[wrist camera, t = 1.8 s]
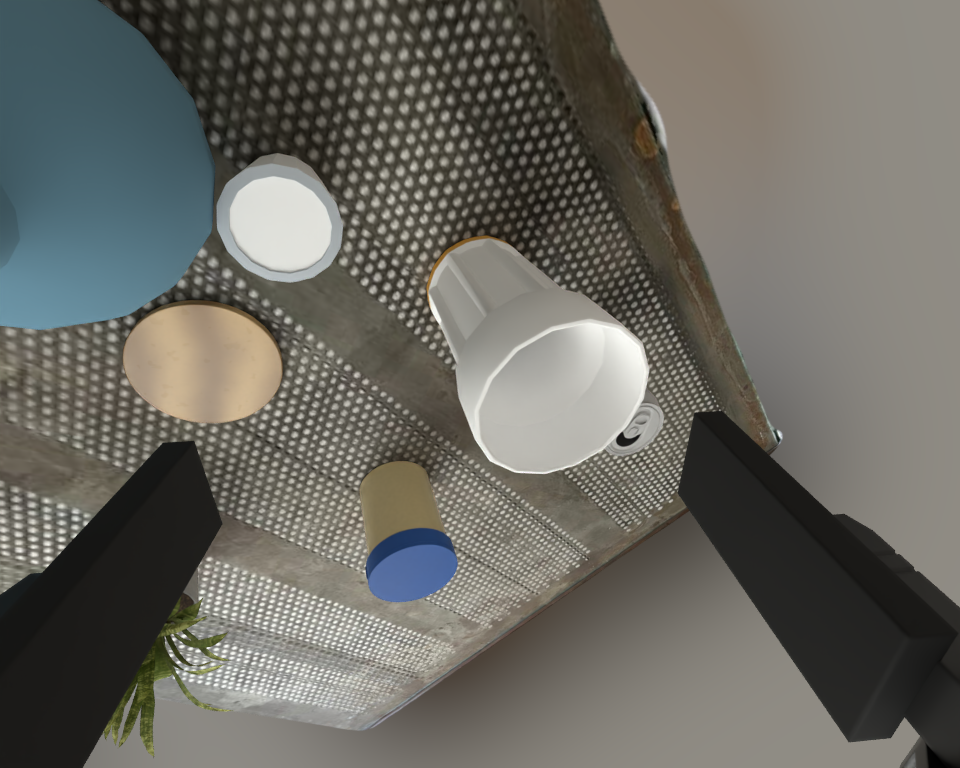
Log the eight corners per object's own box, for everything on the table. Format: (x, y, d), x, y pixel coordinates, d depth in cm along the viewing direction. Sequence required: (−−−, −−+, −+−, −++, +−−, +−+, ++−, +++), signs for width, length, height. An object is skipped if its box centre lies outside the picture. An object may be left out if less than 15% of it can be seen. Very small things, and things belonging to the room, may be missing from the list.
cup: (391, 319, 41) (437, 456, 27) (453, 196, 37) (545, 285, 23) (497, 359, 47) (579, 488, 33) (561, 256, 42) (685, 355, 29)
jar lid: (366, 592, 46) (368, 610, 45) (363, 536, 42) (366, 554, 40) (449, 574, 49) (454, 591, 47) (455, 520, 44) (461, 537, 43)
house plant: (266, 583, 55) (257, 746, 42) (128, 616, 51) (72, 806, 38) (233, 497, 46) (209, 668, 34) (65, 530, 43) (-33, 735, 30)
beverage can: (532, 377, 49) (586, 456, 40) (561, 324, 47) (626, 394, 37) (580, 388, 52) (641, 463, 43) (610, 338, 49) (682, 407, 40)
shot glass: (271, 118, 31) (266, 134, 25) (356, 196, 35) (367, 225, 29) (206, 198, 32) (188, 230, 26) (295, 264, 36) (294, 304, 31)
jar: (360, 516, 53) (371, 602, 45) (358, 465, 49) (370, 551, 41) (427, 505, 55) (450, 585, 47) (430, 456, 51) (456, 535, 43)
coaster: (147, 424, 40) (145, 430, 39) (104, 301, 34) (101, 306, 33) (290, 411, 43) (289, 416, 42) (273, 297, 37) (273, 302, 36)
